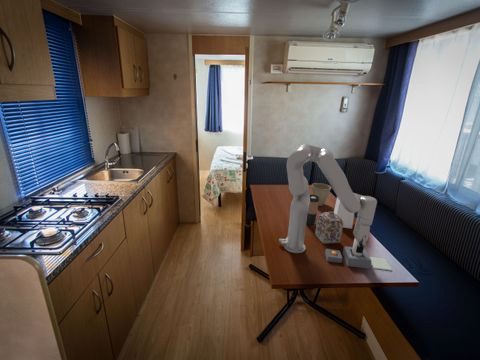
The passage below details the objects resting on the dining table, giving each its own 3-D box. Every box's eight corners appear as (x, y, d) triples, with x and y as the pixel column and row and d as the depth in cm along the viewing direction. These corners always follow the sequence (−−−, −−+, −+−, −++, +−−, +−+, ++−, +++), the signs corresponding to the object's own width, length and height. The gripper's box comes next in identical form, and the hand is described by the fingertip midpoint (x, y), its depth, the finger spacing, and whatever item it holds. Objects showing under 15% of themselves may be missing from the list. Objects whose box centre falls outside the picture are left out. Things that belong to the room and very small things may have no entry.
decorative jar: (340, 243, 161) (345, 216, 155) (322, 244, 159) (327, 217, 153) (330, 233, 172) (335, 208, 166) (314, 234, 170) (318, 209, 164)
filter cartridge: (351, 262, 142) (357, 236, 137) (348, 256, 147) (354, 231, 142) (361, 263, 141) (367, 238, 136) (358, 258, 146) (364, 232, 141)
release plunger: (330, 259, 144) (331, 253, 143) (329, 255, 147) (330, 250, 146) (336, 259, 144) (337, 254, 143) (335, 256, 147) (336, 251, 146)
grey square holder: (347, 265, 139) (348, 257, 138) (342, 253, 150) (344, 246, 148) (369, 268, 138) (371, 260, 136) (363, 256, 148) (365, 248, 147)
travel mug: (317, 225, 182) (321, 198, 175) (307, 226, 180) (311, 199, 173) (311, 220, 189) (315, 194, 182) (302, 221, 187) (305, 195, 180)
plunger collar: (327, 261, 142) (328, 256, 141) (325, 253, 150) (325, 248, 149) (341, 263, 141) (342, 258, 140) (338, 254, 149) (339, 250, 148)
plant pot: (330, 208, 210) (333, 189, 205) (312, 207, 210) (314, 188, 205) (325, 200, 225) (327, 183, 219) (307, 200, 225) (310, 182, 220)
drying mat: (373, 268, 138) (374, 267, 138) (367, 257, 148) (368, 256, 147) (391, 270, 137) (392, 269, 137) (384, 259, 146) (385, 258, 146)
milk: (352, 228, 179) (359, 193, 171) (334, 226, 181) (340, 191, 173) (348, 220, 190) (355, 187, 182) (332, 218, 192) (338, 185, 184)
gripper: (352, 211, 144) (346, 240, 150) (361, 226, 128) (354, 257, 134) (367, 213, 143) (360, 242, 149) (377, 228, 127) (369, 259, 133)
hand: (357, 249), depth 142 cm, fingers closed on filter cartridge, 5 cm apart
